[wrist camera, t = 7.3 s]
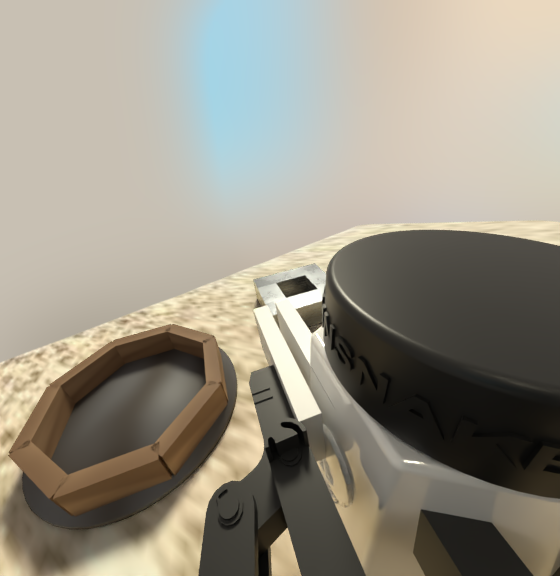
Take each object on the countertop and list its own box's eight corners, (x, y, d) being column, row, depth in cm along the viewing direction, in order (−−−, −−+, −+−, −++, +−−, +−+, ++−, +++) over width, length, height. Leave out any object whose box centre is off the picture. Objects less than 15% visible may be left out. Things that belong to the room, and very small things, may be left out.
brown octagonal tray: (225, 324, 32) (219, 305, 31) (255, 465, 18) (247, 442, 17) (74, 368, 29) (59, 349, 28) (-36, 584, 15) (-79, 568, 13)
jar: (290, 435, 16) (281, 242, 10) (405, 396, 17) (456, 216, 12) (387, 708, 8) (611, 579, 2) (570, 586, 10) (950, 345, 4)
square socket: (316, 281, 38) (314, 263, 37) (347, 314, 31) (347, 293, 29) (257, 298, 37) (253, 279, 35) (275, 337, 29) (271, 315, 28)
